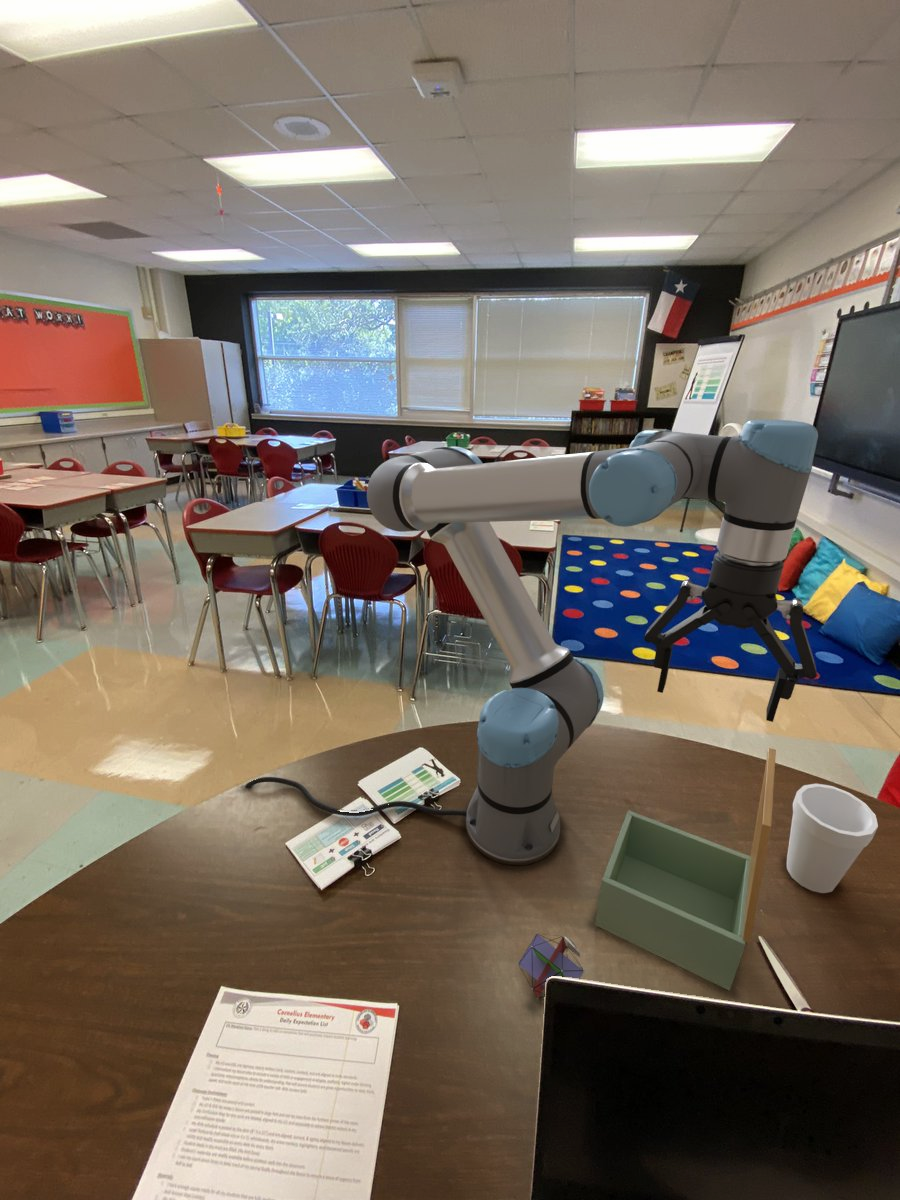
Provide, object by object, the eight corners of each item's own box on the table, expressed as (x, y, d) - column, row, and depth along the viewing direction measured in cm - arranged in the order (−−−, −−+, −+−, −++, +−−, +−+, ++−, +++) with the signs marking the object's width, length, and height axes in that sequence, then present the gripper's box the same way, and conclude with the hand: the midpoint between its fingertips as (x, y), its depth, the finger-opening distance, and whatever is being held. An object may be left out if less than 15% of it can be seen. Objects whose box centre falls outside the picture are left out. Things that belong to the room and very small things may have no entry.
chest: (594, 925, 73) (601, 880, 70) (620, 852, 84) (628, 809, 80) (729, 991, 65) (745, 944, 62) (739, 901, 76) (753, 857, 72)
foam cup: (760, 859, 82) (781, 795, 77) (802, 839, 86) (824, 776, 80) (820, 913, 74) (848, 845, 69) (864, 888, 78) (894, 822, 72)
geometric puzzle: (549, 1031, 60) (577, 962, 60) (500, 986, 64) (527, 922, 65) (573, 1011, 66) (598, 948, 66) (526, 971, 70) (550, 913, 70)
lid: (762, 824, 55) (771, 826, 55) (768, 747, 66) (776, 749, 66) (742, 940, 62) (750, 943, 61) (750, 853, 72) (757, 856, 72)
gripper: (870, 563, 63) (818, 712, 72) (647, 531, 73) (626, 665, 82) (880, 585, 57) (822, 745, 66) (636, 548, 68) (615, 689, 76)
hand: (713, 701), depth 74 cm, fingers open, 13 cm apart
